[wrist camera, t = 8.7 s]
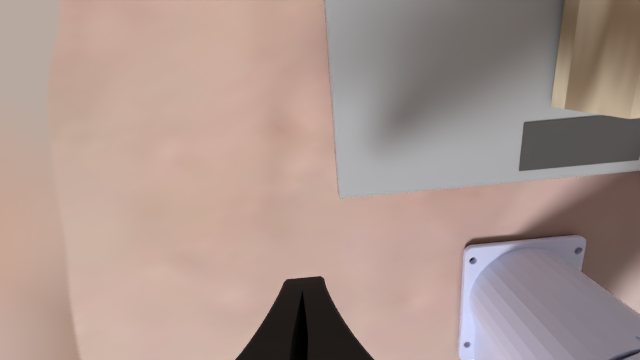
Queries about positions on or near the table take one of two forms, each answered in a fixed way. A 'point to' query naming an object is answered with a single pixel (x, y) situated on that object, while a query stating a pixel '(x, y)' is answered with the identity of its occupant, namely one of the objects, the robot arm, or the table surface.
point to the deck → (458, 98)
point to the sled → (599, 58)
